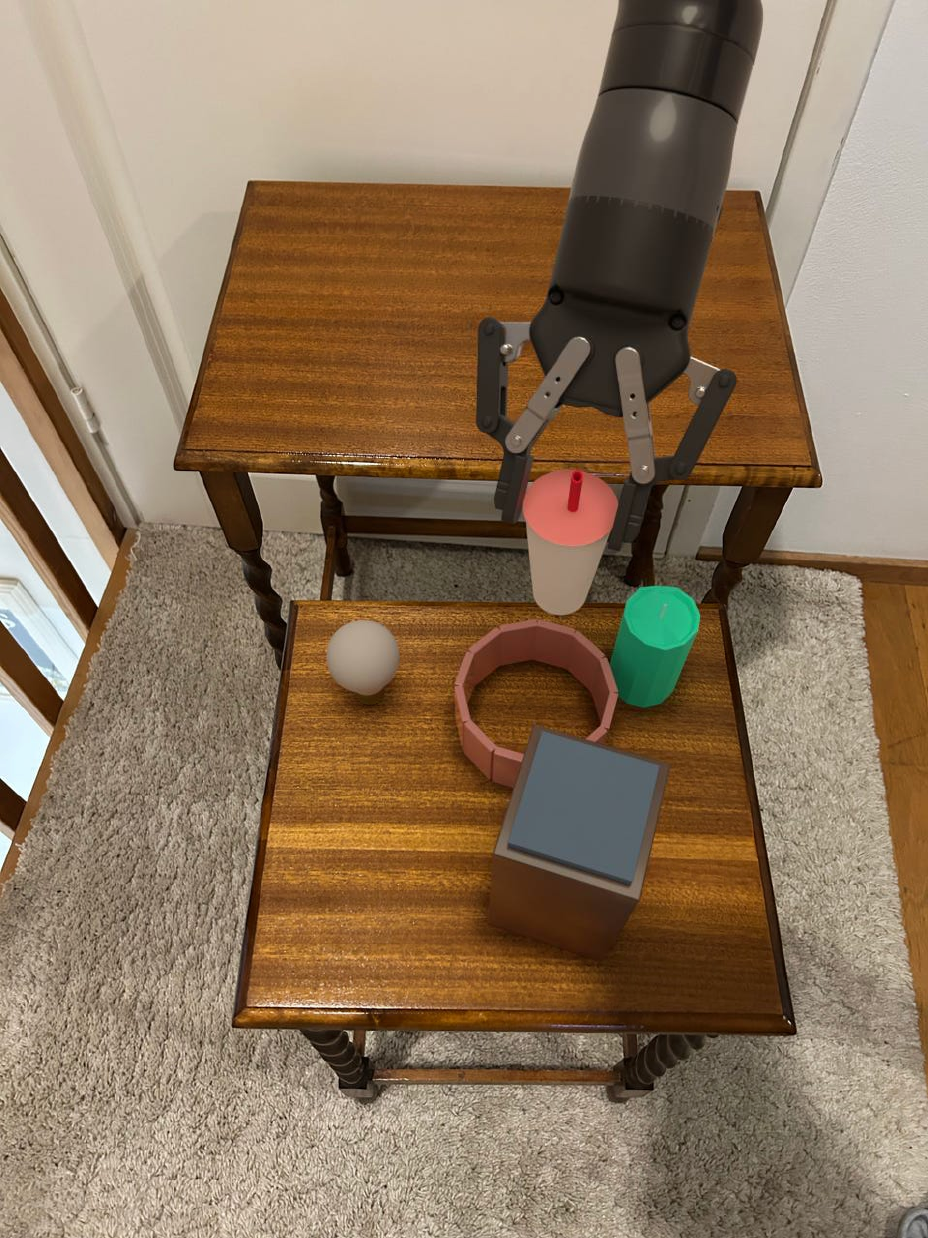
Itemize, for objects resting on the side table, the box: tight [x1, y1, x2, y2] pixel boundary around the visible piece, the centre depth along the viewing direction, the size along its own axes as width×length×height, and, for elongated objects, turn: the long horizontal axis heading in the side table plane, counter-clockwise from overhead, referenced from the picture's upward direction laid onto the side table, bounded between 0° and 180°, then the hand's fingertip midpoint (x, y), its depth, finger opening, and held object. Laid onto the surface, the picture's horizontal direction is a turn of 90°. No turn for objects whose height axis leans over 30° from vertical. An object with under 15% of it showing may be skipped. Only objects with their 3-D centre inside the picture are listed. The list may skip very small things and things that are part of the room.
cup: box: [522, 469, 619, 616], centre depth 55 cm, size 5×5×12 cm
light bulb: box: [326, 619, 401, 705], centre depth 77 cm, size 6×6×10 cm
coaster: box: [507, 731, 660, 885], centre depth 57 cm, size 8×8×1 cm
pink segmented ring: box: [453, 618, 619, 789], centre depth 78 cm, size 13×13×6 cm
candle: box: [609, 585, 701, 709], centre depth 77 cm, size 6×6×12 cm
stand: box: [487, 723, 671, 963], centre depth 65 cm, size 9×9×18 cm
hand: (562, 533), depth 52 cm, fingers closed on cup, 5 cm apart
